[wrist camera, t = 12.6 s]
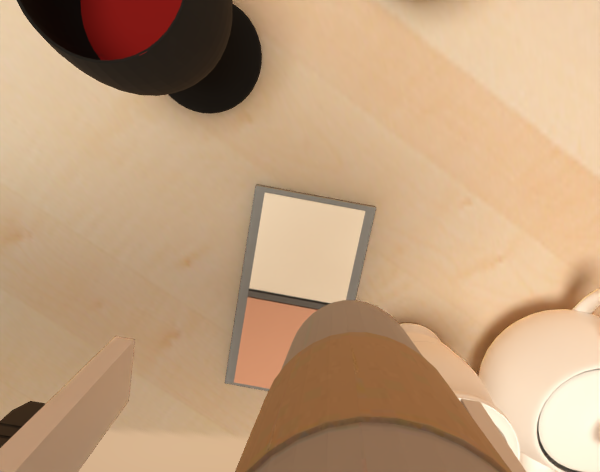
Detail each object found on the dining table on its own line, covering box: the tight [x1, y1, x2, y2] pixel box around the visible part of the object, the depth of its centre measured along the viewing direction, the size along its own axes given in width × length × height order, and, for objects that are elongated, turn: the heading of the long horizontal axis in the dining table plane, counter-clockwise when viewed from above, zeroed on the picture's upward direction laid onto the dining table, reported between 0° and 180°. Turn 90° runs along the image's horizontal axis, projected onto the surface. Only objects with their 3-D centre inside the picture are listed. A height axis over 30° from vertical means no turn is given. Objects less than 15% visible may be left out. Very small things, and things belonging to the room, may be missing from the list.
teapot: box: [478, 288, 600, 472], centre depth 38 cm, size 25×16×12 cm, turn 169°
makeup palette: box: [225, 185, 376, 391], centre depth 42 cm, size 12×22×2 cm, turn 170°
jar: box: [400, 323, 520, 462], centre depth 37 cm, size 11×10×15 cm
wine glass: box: [17, 0, 262, 113], centre depth 28 cm, size 10×10×20 cm
